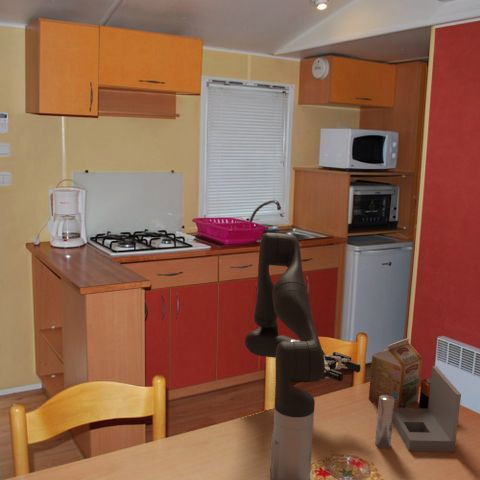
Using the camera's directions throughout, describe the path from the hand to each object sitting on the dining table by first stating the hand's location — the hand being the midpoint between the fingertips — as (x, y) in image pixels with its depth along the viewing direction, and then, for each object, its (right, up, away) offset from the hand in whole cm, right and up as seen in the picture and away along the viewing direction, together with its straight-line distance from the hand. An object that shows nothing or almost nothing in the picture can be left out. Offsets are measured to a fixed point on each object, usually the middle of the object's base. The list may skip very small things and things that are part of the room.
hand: (351, 373), depth 161 cm
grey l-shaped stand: (+19, -17, +2) cm, 26 cm away
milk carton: (+17, -13, +21) cm, 30 cm away
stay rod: (+7, -18, -5) cm, 20 cm away
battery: (+27, -15, +16) cm, 34 cm away
